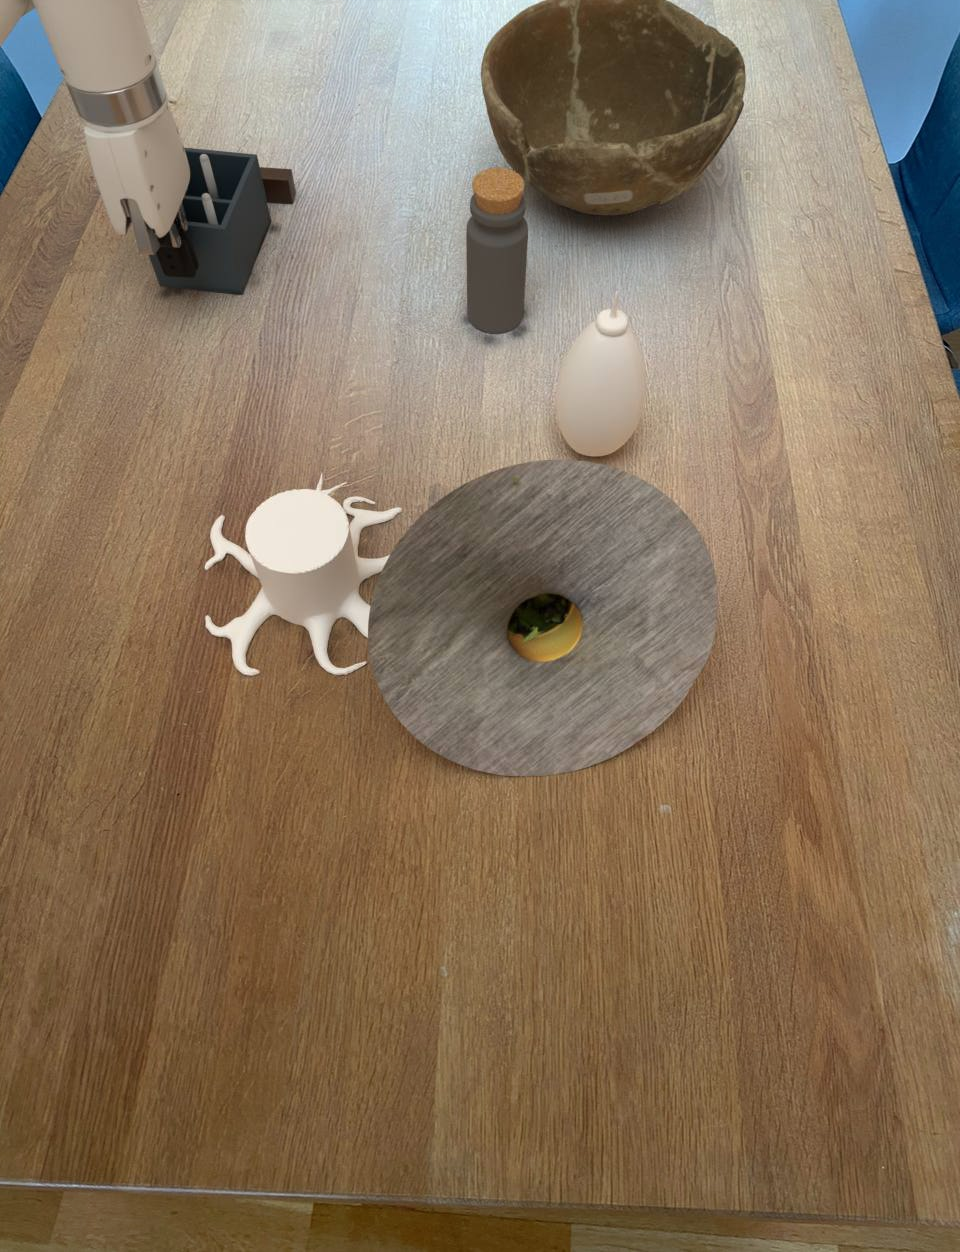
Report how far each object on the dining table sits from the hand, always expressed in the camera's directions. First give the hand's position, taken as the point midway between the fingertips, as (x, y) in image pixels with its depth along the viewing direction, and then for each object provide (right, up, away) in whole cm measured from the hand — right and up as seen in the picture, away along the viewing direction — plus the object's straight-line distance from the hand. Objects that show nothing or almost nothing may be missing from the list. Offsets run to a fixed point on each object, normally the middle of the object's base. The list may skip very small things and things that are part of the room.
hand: (182, 271), depth 94 cm
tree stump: (+15, -32, -13) cm, 37 cm away
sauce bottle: (+40, -18, -5) cm, 45 cm away
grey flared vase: (+34, -39, -17) cm, 54 cm away
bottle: (+31, -3, +4) cm, 32 cm away
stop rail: (+1, +14, +13) cm, 19 cm away
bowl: (+43, +14, +13) cm, 48 cm away
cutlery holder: (+1, +5, +8) cm, 9 cm away
